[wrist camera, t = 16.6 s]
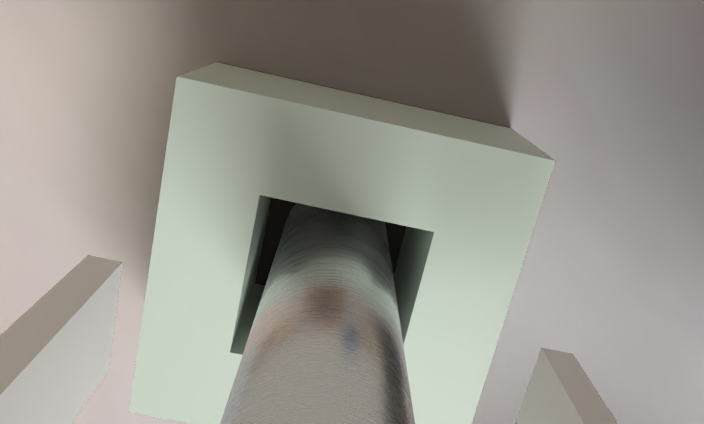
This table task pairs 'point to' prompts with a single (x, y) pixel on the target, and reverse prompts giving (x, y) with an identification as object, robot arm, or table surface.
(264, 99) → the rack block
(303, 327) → the grey tall cylinder
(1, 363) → the robot arm
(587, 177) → the table surface
